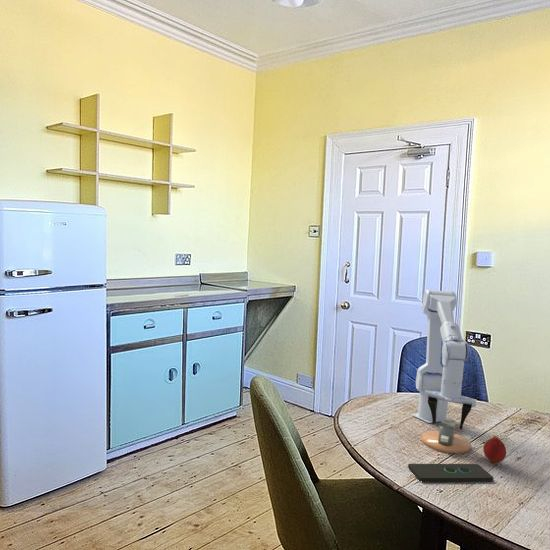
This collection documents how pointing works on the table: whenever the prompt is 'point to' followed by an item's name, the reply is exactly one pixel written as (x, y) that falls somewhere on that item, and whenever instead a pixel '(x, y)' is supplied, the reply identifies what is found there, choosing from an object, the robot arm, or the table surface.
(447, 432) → the connector
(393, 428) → the table surface
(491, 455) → the onion
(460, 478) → the smart home device
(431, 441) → the plate
